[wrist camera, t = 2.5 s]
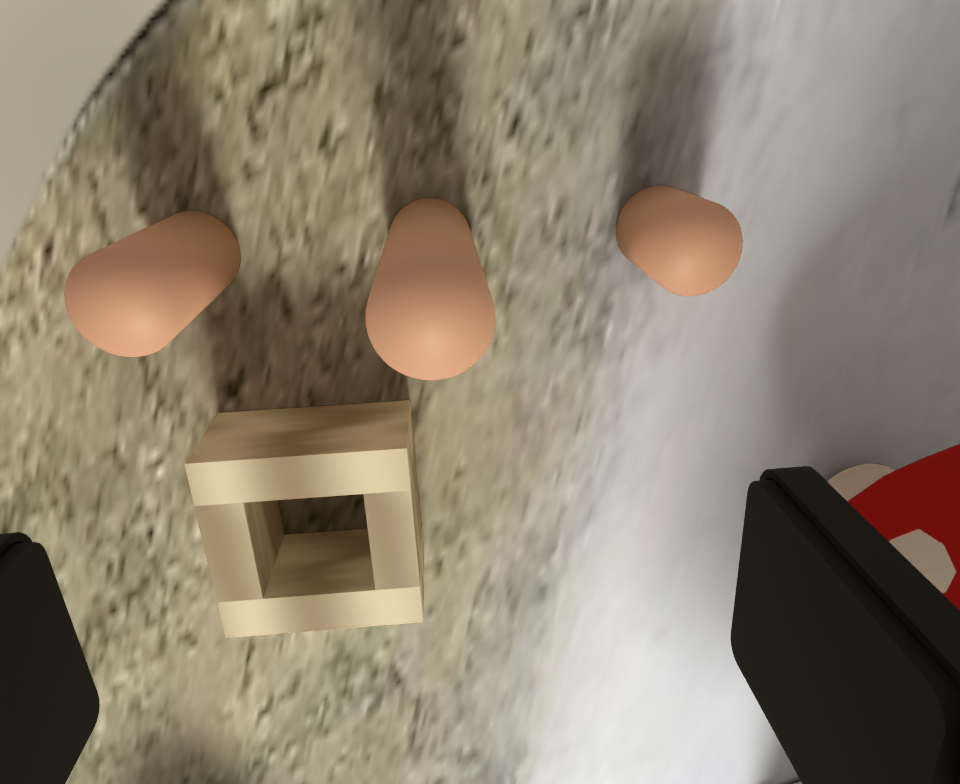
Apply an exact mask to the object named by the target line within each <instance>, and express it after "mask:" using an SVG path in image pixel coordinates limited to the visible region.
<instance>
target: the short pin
mask: <svg viewBox="0 0 960 784" xmlns="http://www.w3.org/2000/svg"><path fill="white" fill-rule="evenodd" d="M616 238H617V242H618V245H619V248H620V250H621V251H622V253H623V254H624V255H625V256H626V258H628V259H629V260H630V261H631V262H632V263H634V264H635V265H636V266H637V267H639V268H640V269H641V270H642V271H644V272H645V273H646V274H647V275H649V276H650V277H651V278H652V279H654V280H655V281H656V282H657V283H659V284H660V285H661V286H662V287H664V288H665V289H666V290H668V291H670V292H672V293H674V294H678V295H682V296H697V295H701V294H705V293H707V292H710V291H712V290H714V289H715V288H717V287H718V286H720V285H721V284H722V283H723V282H725V281H726V280H727V279H728V278H729V276H730V275H731V274H732V272H733V271H734V269H735V268H736V266H737V264H738V262H739V259H740V256H741V252H742V242H743V240H742V233H741V228H740V226H739V223H738V221H737V220H736V218H735V217H734V215H733V214H732V213H731V212H730V211H729V210H728V209H726V208H725V207H724V206H722V205H720V204H718V203H715V202H712V201H709V200H707V199H704V198H701V197H698V196H695V195H693V194H690V193H687V192H684V191H681V190H679V189H676V188H673V187H670V186H664V185H656V186H651V187H647V188H645V189H642V190H640V191H639V192H637V193H636V194H634V195H633V196H632V197H631V198H630V199H629V200H628V201H627V202H626V203H625V204H624V206H623V208H622V209H621V211H620V213H619V216H618V219H617V223H616Z"/></svg>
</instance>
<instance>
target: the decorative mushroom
mask: <svg viewBox="0 0 960 784" xmlns="http://www.w3.org/2000/svg"><path fill="white" fill-rule="evenodd" d="M827 482H828V483H829V484H830V485H831V486H832V487H833V488H834V489H835V490H836V491H837V492H838V493H839V494H840V495H841V496H842V497H843V498H845V499H846V500H847V501H848V502H849V503H850V504H851V505H852V506H853V507H854V508H855V509H856V510H857V511H858V512H859V513H860V514H861V515H862V516H863V517H864V518H865V519H866V520H867V521H868V522H869V523H870V524H871V525H872V526H873V527H874V528H875V529H876V530H877V531H878V532H880V533H881V534H882V535H883V536H884V537H885V538H886V539H887V540H888V541H889V542H890V543H891V544H892V545H893V546H894V547H895V548H896V549H897V550H898V551H899V552H900V553H901V554H902V555H903V556H904V557H905V558H906V559H907V560H908V561H909V562H910V563H911V564H912V565H914V566H915V567H916V568H917V569H918V570H919V571H920V572H921V573H922V574H923V575H924V576H925V577H926V578H927V579H928V580H929V581H930V582H931V583H932V584H933V585H934V586H935V587H936V588H937V589H938V590H939V591H940V592H941V593H942V594H943V595H944V596H945V597H946V598H948V599H949V600H950V601H951V602H952V603H953V604H954V605H955V606H956V607H957V608H958V609H959V610H960V444H958V445H956V446H953V447H951V448H948V449H945V450H943V451H940V452H938V453H935V454H932V455H930V456H927V457H925V458H922V459H920V460H918V461H916V462H913V463H911V464H909V465H907V466H905V467H902V468H900V469H898V470H894V469H892V468H890V467H888V466H885V465H880V464H861V465H857V466H853V467H850V468H848V469H846V470H843V471H841V472H839V473H838V474H836V475H835V476H833V477H832V478H831V479H829V480H828V481H827Z"/></svg>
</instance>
